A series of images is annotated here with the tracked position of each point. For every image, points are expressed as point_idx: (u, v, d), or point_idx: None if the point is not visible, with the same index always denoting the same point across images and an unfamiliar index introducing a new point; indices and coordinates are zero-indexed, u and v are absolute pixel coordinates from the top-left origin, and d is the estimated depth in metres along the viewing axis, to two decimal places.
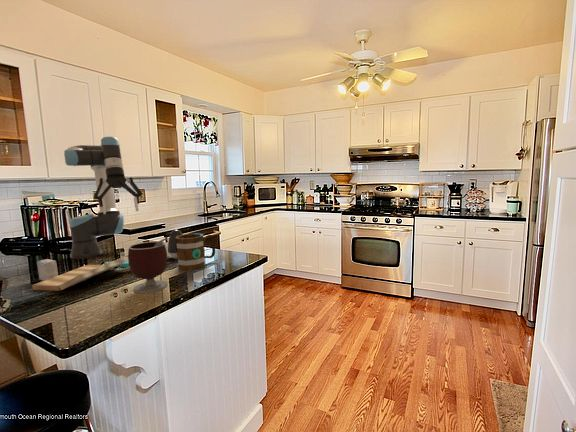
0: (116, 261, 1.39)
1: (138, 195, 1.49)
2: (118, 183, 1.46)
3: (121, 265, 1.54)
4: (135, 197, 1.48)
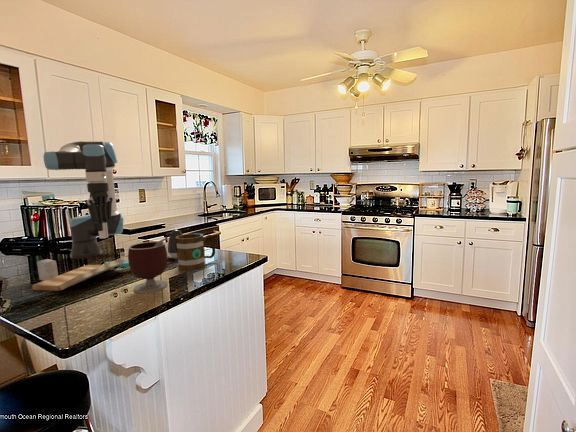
0: (116, 261, 1.39)
1: (108, 221, 1.33)
2: (102, 200, 1.31)
3: (121, 265, 1.54)
4: (106, 223, 1.32)
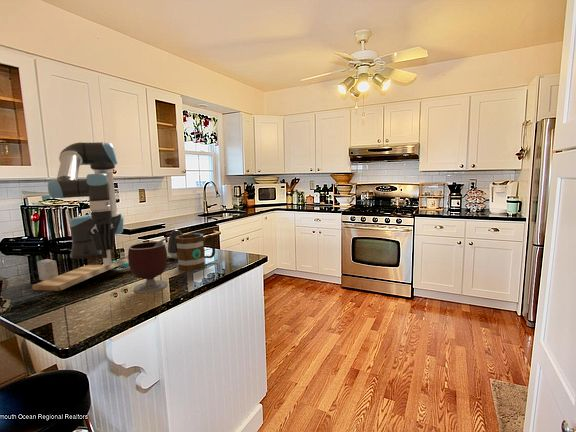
0: (117, 262, 1.39)
1: (112, 248, 1.34)
2: (106, 228, 1.32)
3: (121, 265, 1.54)
4: (109, 250, 1.33)
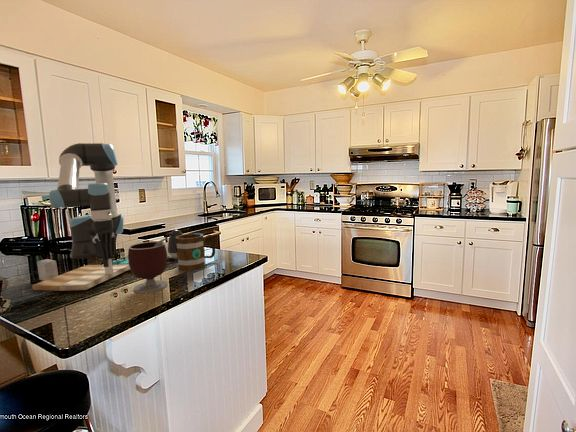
0: (119, 271, 1.40)
1: (113, 257, 1.35)
2: (107, 237, 1.33)
3: None
4: (110, 259, 1.34)
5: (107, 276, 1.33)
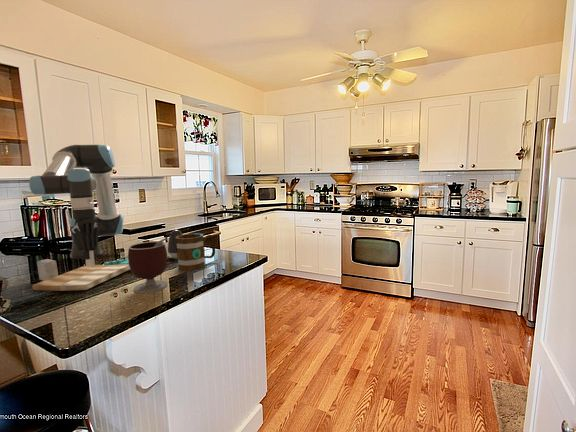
0: (119, 271, 1.40)
1: (95, 249, 1.25)
2: (89, 227, 1.23)
3: None
4: (92, 251, 1.24)
5: (107, 276, 1.33)
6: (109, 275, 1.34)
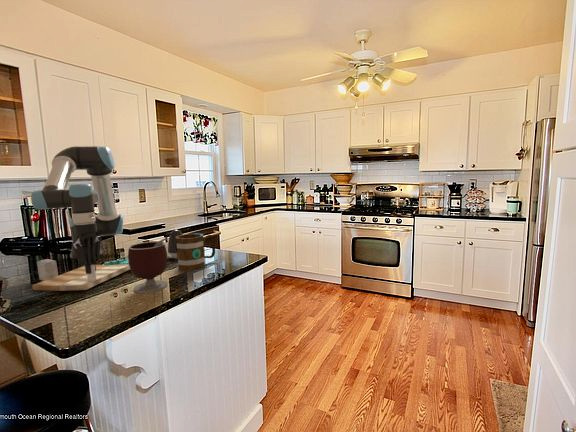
0: (119, 271, 1.40)
1: (96, 263, 1.26)
2: (90, 241, 1.24)
3: None
4: (93, 265, 1.25)
5: (107, 276, 1.33)
6: (109, 275, 1.34)
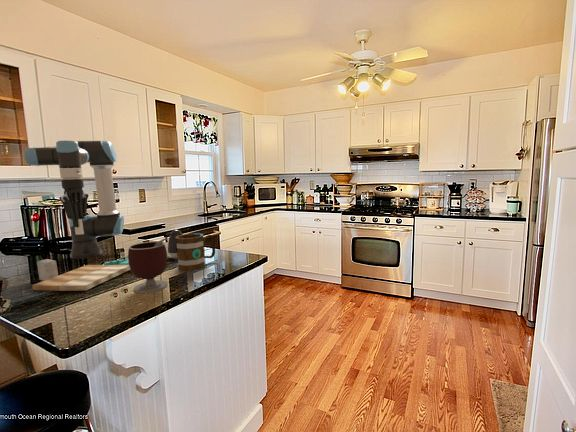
0: (119, 271, 1.40)
1: (84, 218, 1.33)
2: (77, 196, 1.31)
3: None
4: (81, 219, 1.32)
5: (107, 277, 1.33)
6: (109, 276, 1.34)
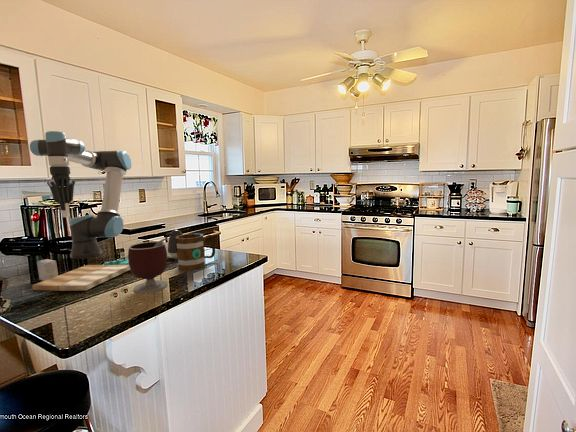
0: (119, 271, 1.40)
1: (70, 202, 1.46)
2: (64, 182, 1.44)
3: None
4: (67, 203, 1.45)
5: (107, 277, 1.33)
6: (109, 276, 1.34)
